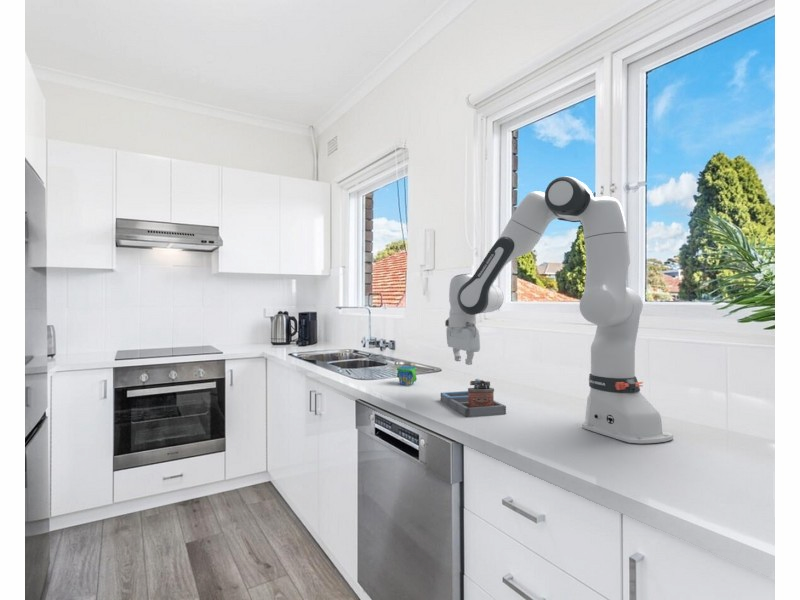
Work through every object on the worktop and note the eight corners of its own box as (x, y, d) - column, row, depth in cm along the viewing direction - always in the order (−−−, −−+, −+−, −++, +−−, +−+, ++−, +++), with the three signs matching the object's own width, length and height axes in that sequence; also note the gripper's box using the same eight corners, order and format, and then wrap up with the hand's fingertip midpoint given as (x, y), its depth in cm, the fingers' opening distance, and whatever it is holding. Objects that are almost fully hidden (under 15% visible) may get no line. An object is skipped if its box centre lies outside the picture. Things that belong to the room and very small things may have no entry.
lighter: (492, 411, 141) (492, 379, 141) (495, 413, 138) (495, 381, 138) (467, 411, 141) (467, 379, 141) (469, 414, 138) (468, 381, 138)
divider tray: (508, 413, 138) (508, 390, 138) (466, 417, 134) (466, 393, 134) (477, 398, 159) (477, 378, 159) (440, 401, 156) (440, 380, 156)
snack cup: (422, 387, 180) (421, 368, 180) (405, 389, 177) (405, 370, 177) (408, 382, 190) (408, 365, 190) (391, 384, 187) (391, 366, 187)
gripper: (484, 323, 144) (485, 366, 144) (459, 320, 164) (460, 358, 164) (466, 323, 142) (466, 367, 142) (443, 321, 162) (443, 359, 162)
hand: (463, 362), depth 153 cm, fingers open, 8 cm apart
